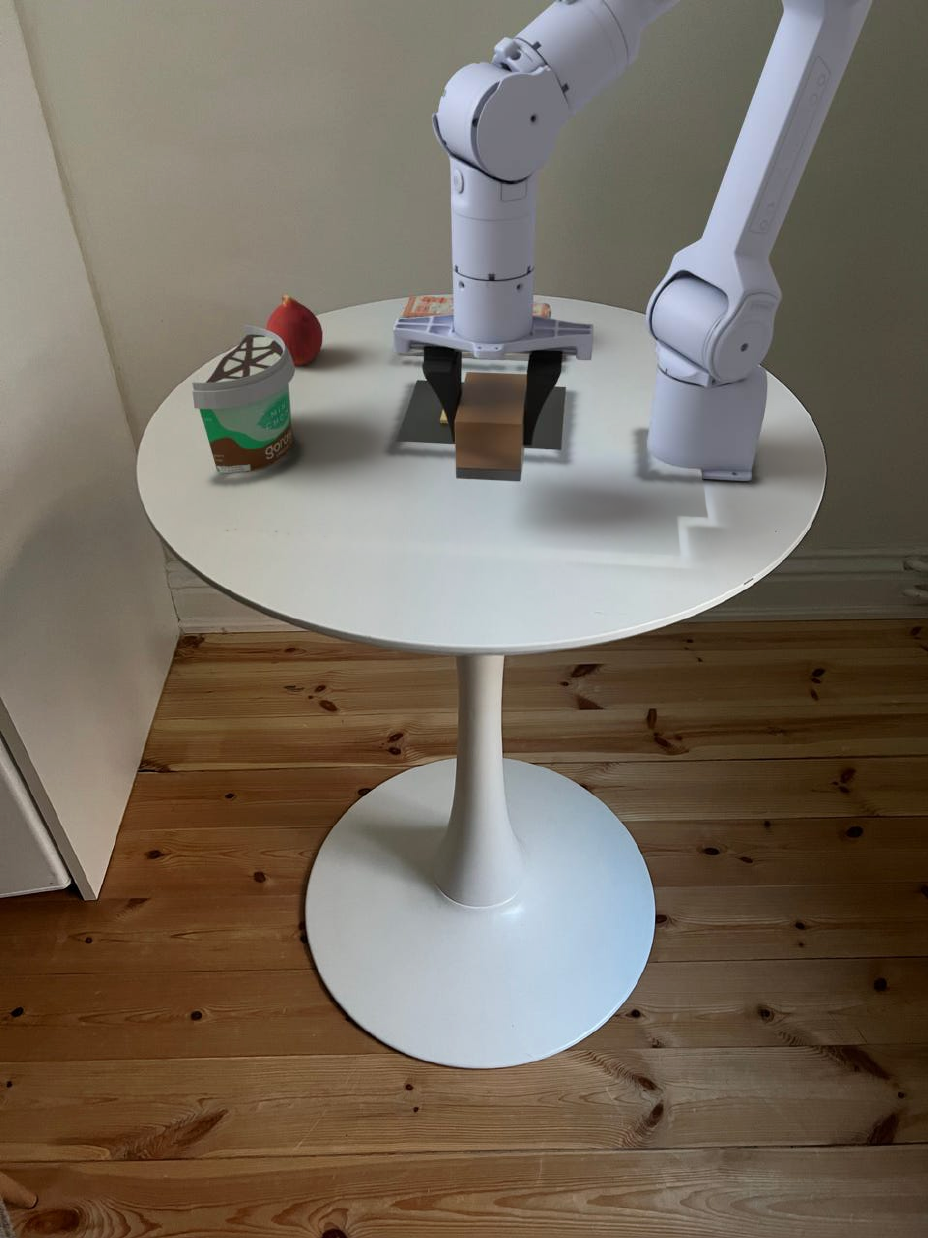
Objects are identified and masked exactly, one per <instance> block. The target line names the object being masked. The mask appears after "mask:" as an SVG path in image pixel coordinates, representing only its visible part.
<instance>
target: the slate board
mask: <svg viewBox="0 0 928 1238" xmlns="http://www.w3.org/2000/svg"><path fill="white" fill-rule="evenodd" d="M463 385H464V381H462V385H461V387H462V389H463ZM566 389H567V388H566V386H556V385H555V386H554V388H553V389H552V391H551V393H550V394H549V396H548V398H547V400H546V402H545V404H544V406H543V408H542V410H541V413H540V415H539V418H538V420H537V423H536V426H535V430H534V434H533V439H532V445H531V446H525V448H524V449H535V450H537V449H539V450H555V451H560V450H562V438H563V426H564V414H565V413H564V412H565V399H566ZM442 411H443V408H442V405H441V403H440V401H439V399H438V397H437V395H436V394H435V392H434V390H433V388H432V387H431V385H430V384H429V382H428V381H427V380H426V379H425V380H424V379H423V380H422V379H417V380H416V381H415V385H414V387H413V391H412V394H411V396H410V400H409V402H408V406H407V407H406V411H405V414H404V416H403V420H402V423H401V426H400V429H399V432H398V435H397V438H396V440H395V441H396V442H401V443H402V442H405V443H420V444H421V443H423V444H439V445H440V444H442V445H443V444H445V445H455V442H452V436H451V432H450V428H449V424H447V423H440V418H441V415H442Z"/></svg>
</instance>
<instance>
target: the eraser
mask: <svg viewBox="0 0 928 1238" xmlns="http://www.w3.org/2000/svg"><path fill="white" fill-rule="evenodd" d="M463 382H464V385H463V389H462V393H461V397H460V401H459V406H458V410H457V414H456V418H455V444H454V448H455V449H454V451H455V478H456V479H459V480H460V479H461V480H480V481H502V482H519V483H520V482H521V481H522V471H523V464H524V455H525V449H526V448H525V446H524V424H525V416H526V395H527V373H505V372H504V373H503V372H479V371H466V372H465V377H464V381H463Z"/></svg>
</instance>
